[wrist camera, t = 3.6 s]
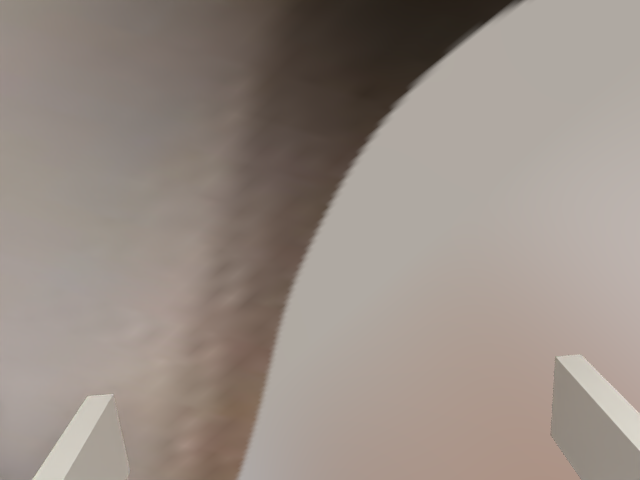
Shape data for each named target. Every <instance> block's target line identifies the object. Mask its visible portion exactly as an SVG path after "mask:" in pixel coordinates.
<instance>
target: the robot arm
mask: <svg viewBox="0 0 640 480" xmlns="http://www.w3.org/2000/svg"><path fill="white" fill-rule="evenodd" d="M553 389H554V390H553V404H552V420H551V436H552V438H553V439H554V441H555V442H556V444H557V445H558V446H559V448H560V449H561V451H562V452H563V454H564V455H565V457H566V458H567V459H568V461H569V462H570V464H571V465H572V467H573V468H574V470H575V471H576V473H577V474H578V476H579V477H580V479H581V480H640V414H639V413H638V412H637V411H636V410H635V409H634V408H633V407H632V406H631V405H630V403H629V402H628V401H627V400H626V399H625V398H624V397H623V396H622V395H621V394H620V393H619V392H618V391H617V390H616V389H615V388H614V387H613V386H612V385H611V384H610V383H609V382H607V380H606V379H605V378H604V377H603V376H601V374H600V373H599V372H598V371H597V370H596V369H595V368H594V367H593V366H592V365H591V364H590V363H589V362H588V361H587V360H586V359H585V358H584V357H583V356H582V355H568V356H556V357H555V371H554V388H553ZM129 473H130V468H129V463H128V458H127V454H126V449H125V445H124V440H123V435H122V431H121V426H120V421H119V417H118V412H117V408H116V403H115V398H114V394H105V395H93V396H87V397H86V399H85V401H84V402H83V404H82V405H81V407H80V408H79V410H78V411H77V413H76V414H75V416H74V417H73V419H72V420H71V422H70V423H69V425H68V426H67V428H66V429H65V431H64V432H63V434H62V435H61V437H60V438H59V440H58V441H57V443H56V445H55V446H54V448H53V449H52V451H51V452H50V454H49V455H48V457H47V458H46V460H45V461H44V463H43V464H42V466H41V467H40V469H39V470H38V472H37V473H36V475H35V476H34V478H33V479H32V480H127V477H128V475H129Z"/></svg>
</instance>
